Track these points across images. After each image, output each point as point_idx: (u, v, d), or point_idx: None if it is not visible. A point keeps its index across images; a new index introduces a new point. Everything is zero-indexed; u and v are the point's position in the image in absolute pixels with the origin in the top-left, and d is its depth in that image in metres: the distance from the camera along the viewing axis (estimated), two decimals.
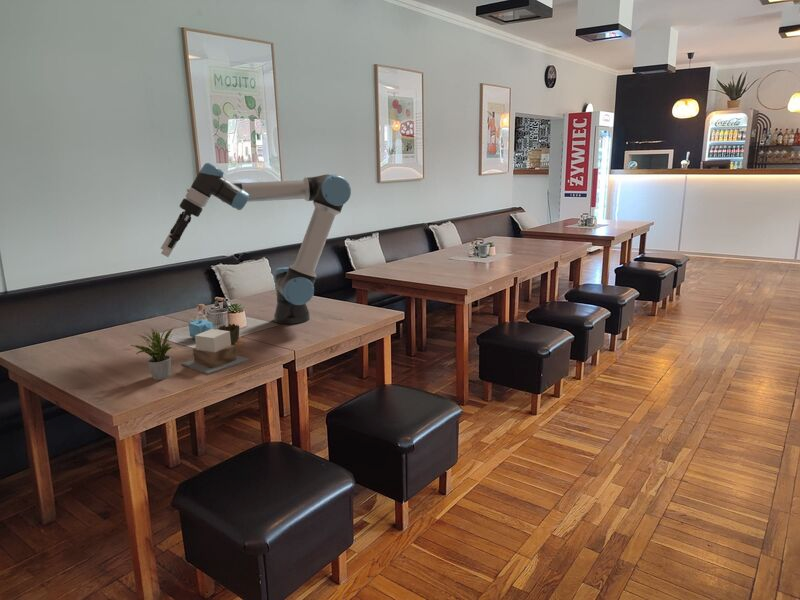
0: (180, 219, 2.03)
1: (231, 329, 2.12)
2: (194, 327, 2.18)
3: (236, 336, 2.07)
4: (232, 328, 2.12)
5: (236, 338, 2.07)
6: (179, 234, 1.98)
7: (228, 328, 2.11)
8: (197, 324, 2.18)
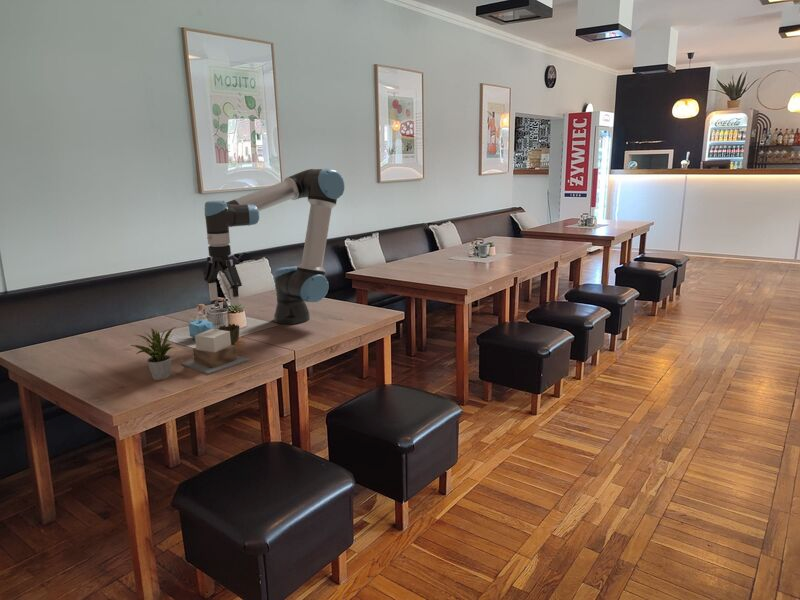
0: (222, 267, 2.00)
1: (231, 329, 2.12)
2: (193, 327, 2.18)
3: (236, 336, 2.07)
4: (232, 328, 2.12)
5: (236, 338, 2.07)
6: (238, 280, 1.98)
7: (228, 328, 2.11)
8: (197, 324, 2.18)
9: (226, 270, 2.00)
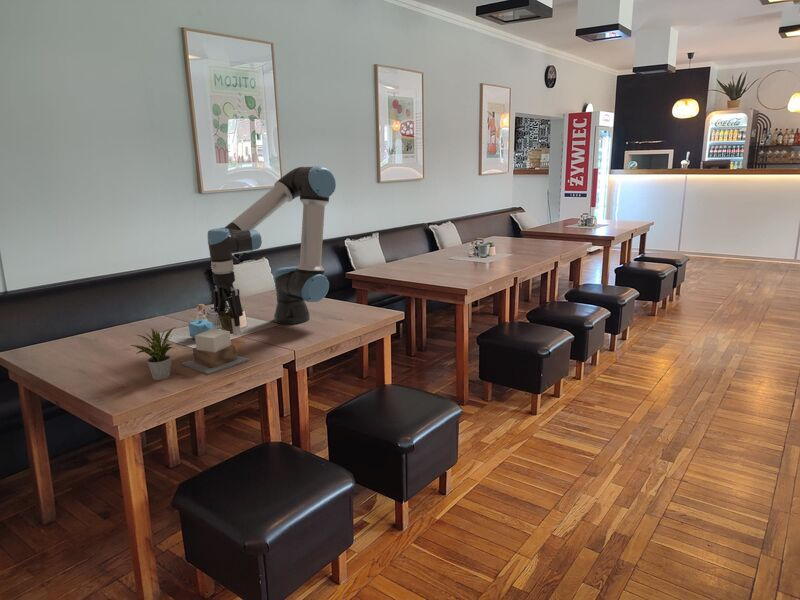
0: (227, 295, 2.02)
1: (231, 315, 2.11)
2: (194, 327, 2.18)
3: None
4: None
5: None
6: (240, 311, 2.02)
7: (228, 314, 2.10)
8: (197, 324, 2.18)
9: (231, 297, 2.02)
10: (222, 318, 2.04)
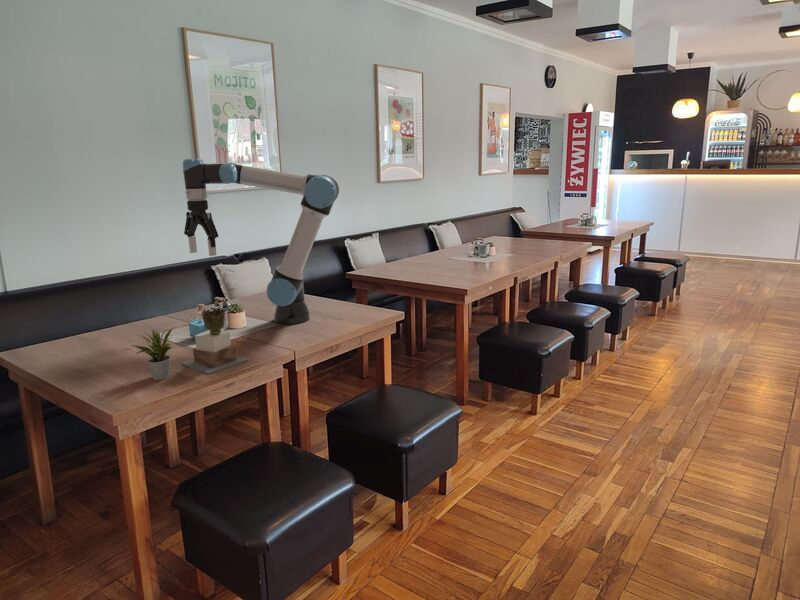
0: (200, 220, 2.17)
1: (216, 314, 1.92)
2: (194, 327, 2.18)
3: (222, 322, 1.88)
4: (217, 313, 1.92)
5: (221, 324, 1.88)
6: (215, 232, 2.16)
7: (213, 313, 1.92)
8: (197, 324, 2.18)
9: (204, 223, 2.18)
10: (205, 317, 1.86)
